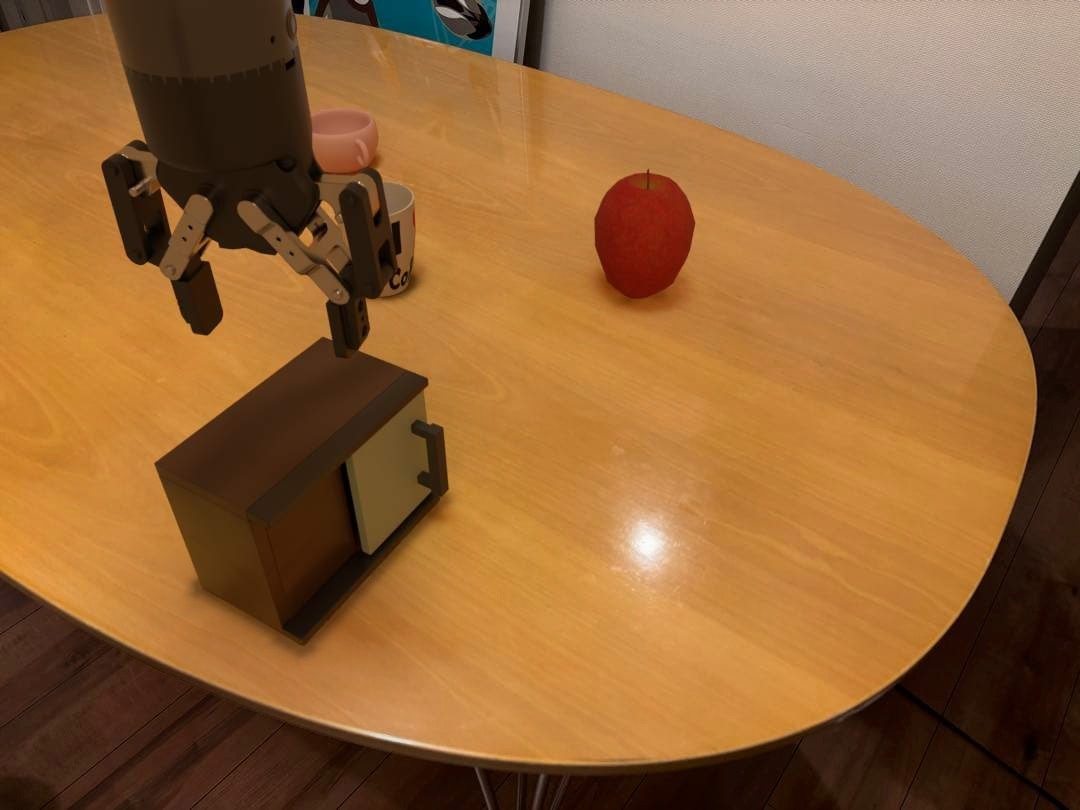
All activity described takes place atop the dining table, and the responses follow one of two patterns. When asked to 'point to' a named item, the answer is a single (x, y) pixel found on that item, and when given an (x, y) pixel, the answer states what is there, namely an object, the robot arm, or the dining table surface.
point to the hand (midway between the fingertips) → (279, 338)
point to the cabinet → (288, 488)
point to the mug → (343, 139)
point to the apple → (643, 234)
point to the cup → (398, 233)
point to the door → (396, 472)
